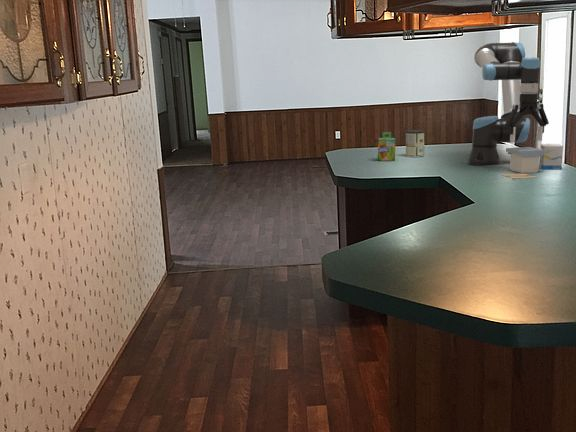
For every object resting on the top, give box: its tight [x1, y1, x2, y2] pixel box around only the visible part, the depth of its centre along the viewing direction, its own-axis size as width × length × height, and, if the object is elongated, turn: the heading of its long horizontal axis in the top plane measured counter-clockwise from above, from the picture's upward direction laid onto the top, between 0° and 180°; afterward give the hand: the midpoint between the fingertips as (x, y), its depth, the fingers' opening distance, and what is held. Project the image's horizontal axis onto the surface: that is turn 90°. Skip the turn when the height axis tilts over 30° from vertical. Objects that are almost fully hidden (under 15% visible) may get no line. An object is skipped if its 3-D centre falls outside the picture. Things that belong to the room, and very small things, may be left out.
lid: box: [505, 146, 545, 158], centre depth 284 cm, size 12×12×3 cm
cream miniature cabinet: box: [405, 129, 426, 158], centre depth 346 cm, size 10×10×14 cm
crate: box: [509, 153, 540, 174], centre depth 285 cm, size 10×8×9 cm
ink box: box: [539, 143, 564, 171], centre depth 291 cm, size 9×8×12 cm
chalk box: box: [377, 131, 396, 162], centre depth 333 cm, size 9×9×15 cm
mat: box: [501, 173, 538, 180], centre depth 273 cm, size 10×11×1 cm
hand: (526, 141), depth 283 cm, fingers open, 13 cm apart
